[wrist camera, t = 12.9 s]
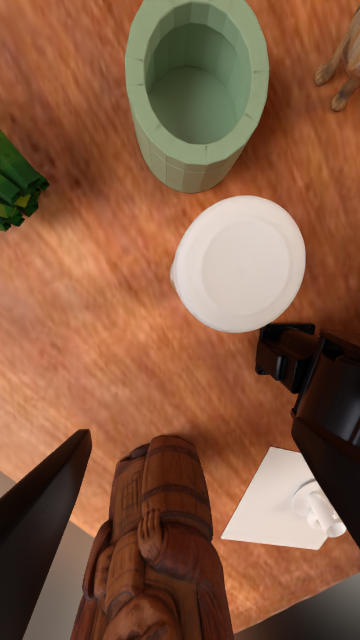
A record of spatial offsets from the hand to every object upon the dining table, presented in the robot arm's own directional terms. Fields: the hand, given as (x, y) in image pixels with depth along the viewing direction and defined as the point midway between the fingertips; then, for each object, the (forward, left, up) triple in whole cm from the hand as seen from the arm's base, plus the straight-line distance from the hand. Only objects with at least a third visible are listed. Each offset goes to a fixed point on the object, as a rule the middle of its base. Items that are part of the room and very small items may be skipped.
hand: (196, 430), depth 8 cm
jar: (-1, -19, -13) cm, 23 cm away
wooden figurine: (+3, +18, -13) cm, 23 cm away
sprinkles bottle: (-1, -7, -13) cm, 15 cm away
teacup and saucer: (-20, +30, -13) cm, 38 cm away
